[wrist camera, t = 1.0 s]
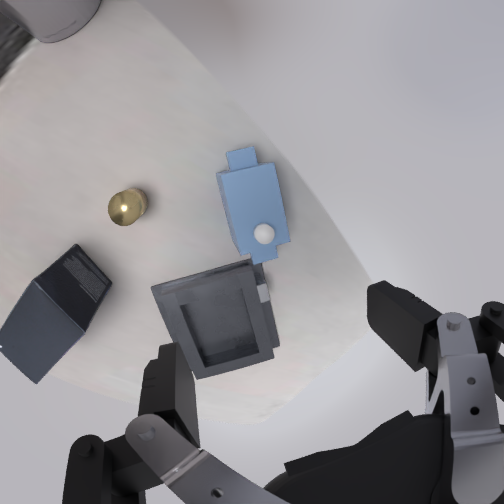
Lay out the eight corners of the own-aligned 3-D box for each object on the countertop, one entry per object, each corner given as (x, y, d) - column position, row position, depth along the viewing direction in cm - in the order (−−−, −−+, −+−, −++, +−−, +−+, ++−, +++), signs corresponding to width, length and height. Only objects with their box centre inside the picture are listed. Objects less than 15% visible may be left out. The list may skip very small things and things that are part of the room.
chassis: (151, 286, 29) (147, 297, 27) (258, 256, 31) (264, 264, 28) (187, 369, 33) (187, 383, 31) (278, 343, 35) (285, 356, 32)
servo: (211, 157, 27) (216, 154, 21) (255, 146, 27) (272, 141, 21) (236, 254, 30) (247, 277, 24) (276, 243, 31) (297, 262, 25)
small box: (67, 334, 29) (36, 389, 19) (31, 297, 27) (-11, 343, 17) (116, 284, 29) (87, 337, 19) (76, 241, 26) (29, 277, 16)
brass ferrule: (115, 193, 26) (103, 197, 22) (142, 184, 26) (134, 187, 22) (123, 221, 27) (113, 230, 23) (150, 212, 27) (144, 220, 23)
